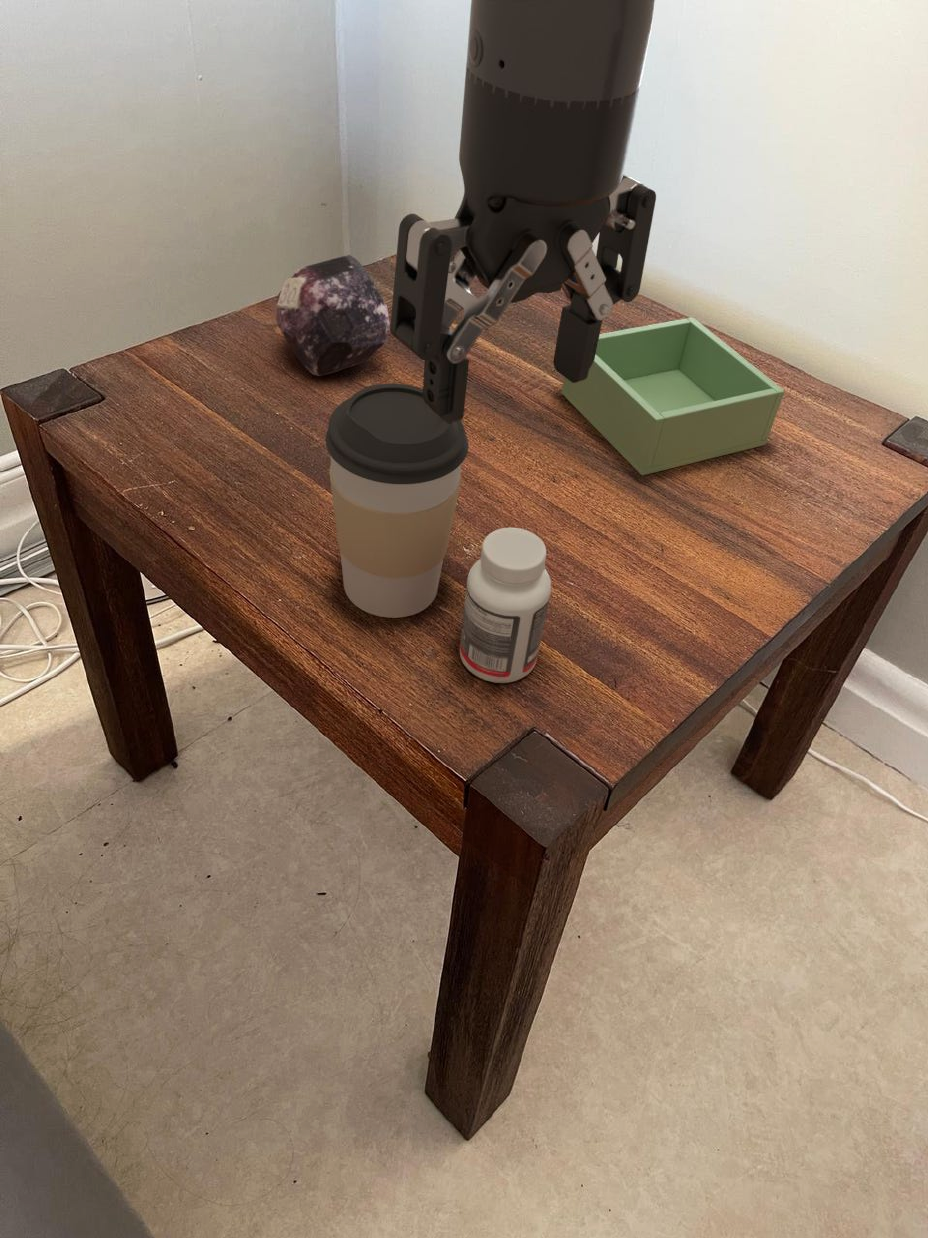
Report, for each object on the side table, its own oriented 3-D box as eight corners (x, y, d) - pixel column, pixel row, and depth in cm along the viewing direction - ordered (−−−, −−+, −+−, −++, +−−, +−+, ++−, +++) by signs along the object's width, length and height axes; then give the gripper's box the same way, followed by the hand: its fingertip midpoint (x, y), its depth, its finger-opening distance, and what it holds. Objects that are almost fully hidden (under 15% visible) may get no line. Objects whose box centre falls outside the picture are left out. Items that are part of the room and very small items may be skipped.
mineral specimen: (276, 307, 94) (315, 217, 88) (372, 360, 96) (416, 277, 90) (246, 354, 87) (286, 260, 80) (350, 411, 89) (397, 324, 83)
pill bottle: (510, 619, 69) (529, 511, 62) (551, 670, 66) (575, 562, 59) (444, 642, 67) (455, 533, 60) (483, 696, 64) (499, 587, 57)
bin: (678, 369, 96) (692, 316, 92) (765, 444, 88) (785, 390, 84) (561, 393, 91) (570, 338, 87) (641, 475, 83) (656, 419, 79)
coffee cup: (403, 528, 75) (412, 354, 64) (478, 595, 70) (501, 419, 60) (303, 573, 70) (296, 393, 60) (377, 647, 66) (383, 467, 55)
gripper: (471, 112, 36) (441, 469, 47) (733, 73, 43) (651, 394, 54) (365, 53, 40) (361, 394, 51) (619, 25, 47) (565, 333, 58)
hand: (509, 394), depth 53 cm, fingers open, 8 cm apart
